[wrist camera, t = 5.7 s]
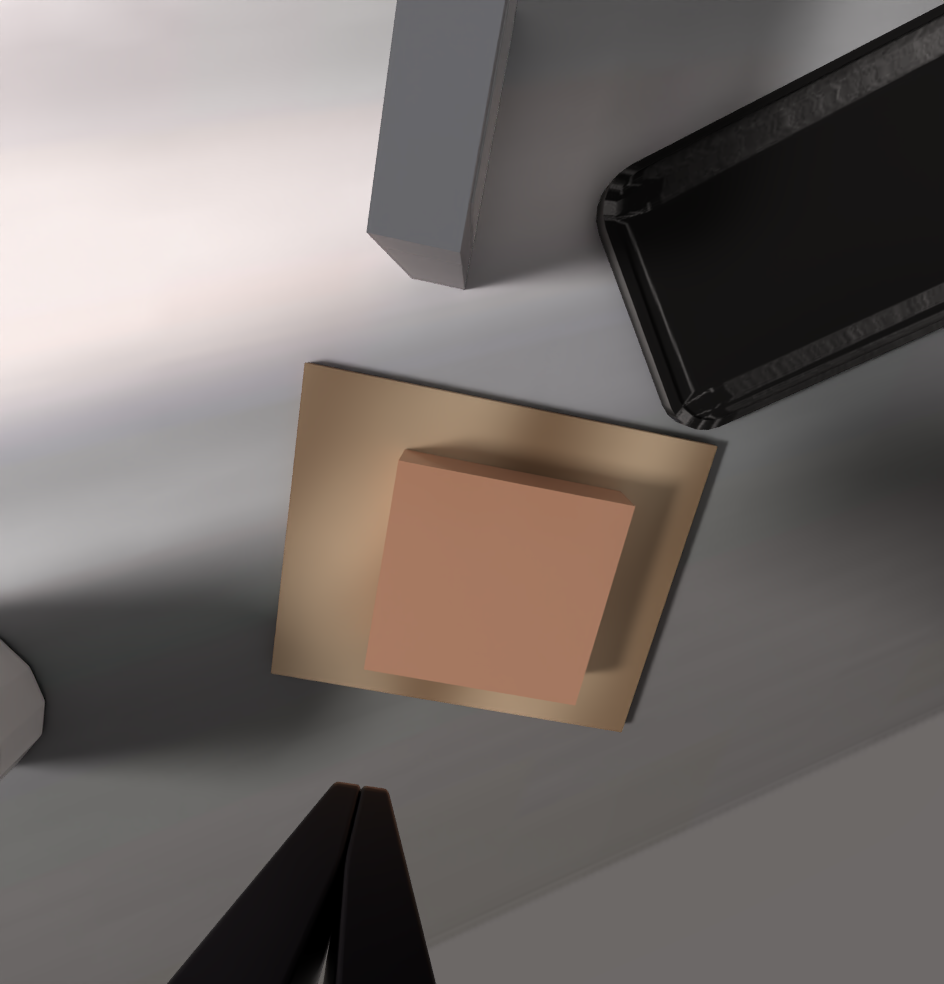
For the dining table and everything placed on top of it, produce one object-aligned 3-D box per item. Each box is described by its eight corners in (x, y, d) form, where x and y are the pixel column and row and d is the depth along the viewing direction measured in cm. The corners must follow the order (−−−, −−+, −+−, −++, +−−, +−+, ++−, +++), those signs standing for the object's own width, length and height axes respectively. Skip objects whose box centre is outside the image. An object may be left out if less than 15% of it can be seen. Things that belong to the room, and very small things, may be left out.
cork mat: (712, 444, 17) (717, 446, 16) (618, 724, 20) (621, 732, 19) (308, 362, 16) (304, 362, 16) (275, 666, 19) (271, 673, 19)
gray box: (517, 9, 14) (562, -308, 7) (465, 290, 16) (462, 253, 9) (456, -6, 14) (442, -340, 7) (411, 278, 16) (366, 232, 9)
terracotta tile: (405, 449, 16) (619, 490, 17) (373, 641, 18) (566, 675, 19) (398, 460, 15) (635, 506, 15) (364, 669, 17) (575, 705, 17)
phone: (590, 185, 14) (1180, -119, 12) (581, 196, 15) (1123, -82, 13) (684, 445, 16) (1203, 215, 14) (671, 439, 17) (1152, 224, 15)
